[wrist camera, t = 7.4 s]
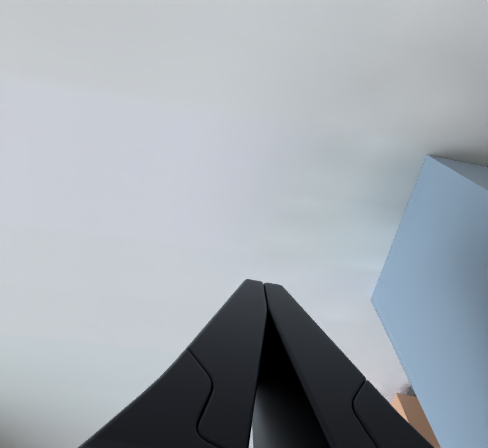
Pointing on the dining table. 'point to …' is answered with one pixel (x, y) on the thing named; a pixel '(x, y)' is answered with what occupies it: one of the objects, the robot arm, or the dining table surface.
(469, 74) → the dining table surface
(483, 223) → the blue-grey picture frame
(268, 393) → the robot arm
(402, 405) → the tan upright block
